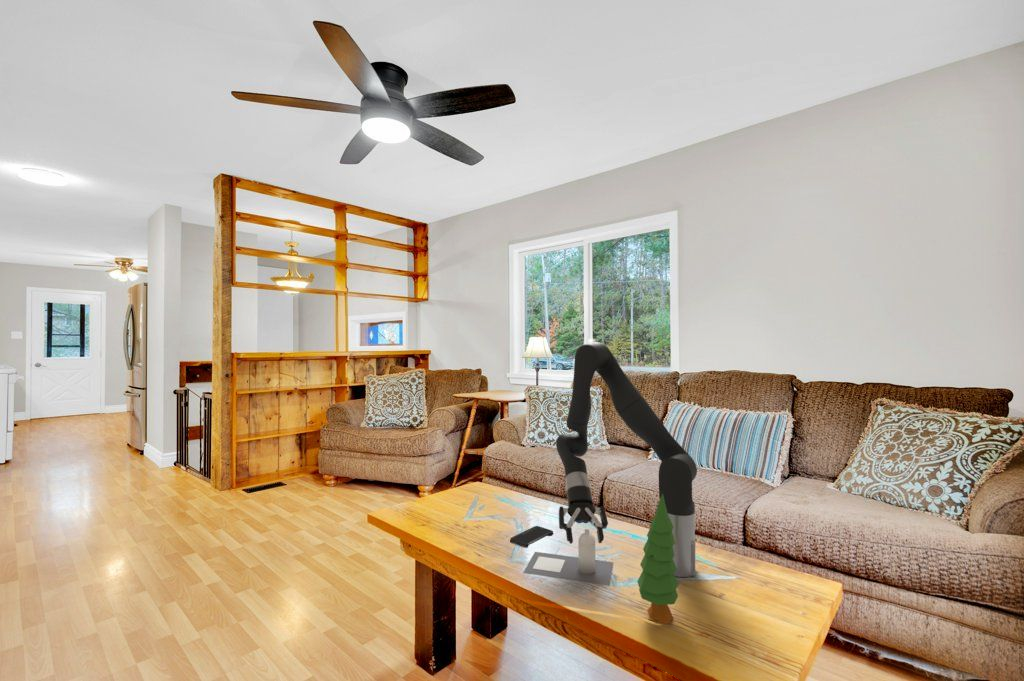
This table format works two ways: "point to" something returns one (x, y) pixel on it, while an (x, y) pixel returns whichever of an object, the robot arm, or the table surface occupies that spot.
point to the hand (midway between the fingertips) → (586, 542)
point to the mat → (568, 568)
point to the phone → (531, 536)
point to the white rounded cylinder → (586, 553)
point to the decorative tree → (659, 567)
